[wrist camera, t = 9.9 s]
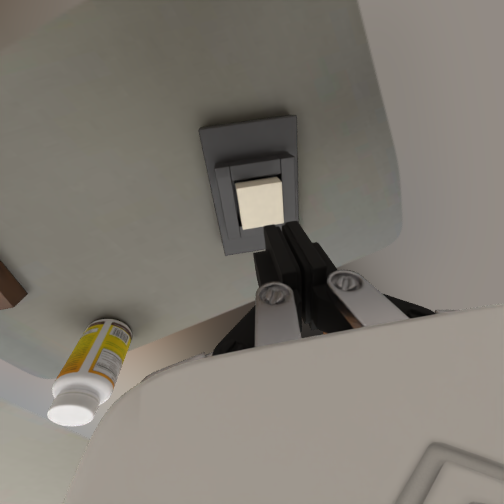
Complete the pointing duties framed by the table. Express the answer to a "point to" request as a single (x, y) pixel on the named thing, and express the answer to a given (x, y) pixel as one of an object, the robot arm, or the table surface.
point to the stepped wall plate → (250, 172)
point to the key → (260, 202)
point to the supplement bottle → (90, 373)
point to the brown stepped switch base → (9, 289)
